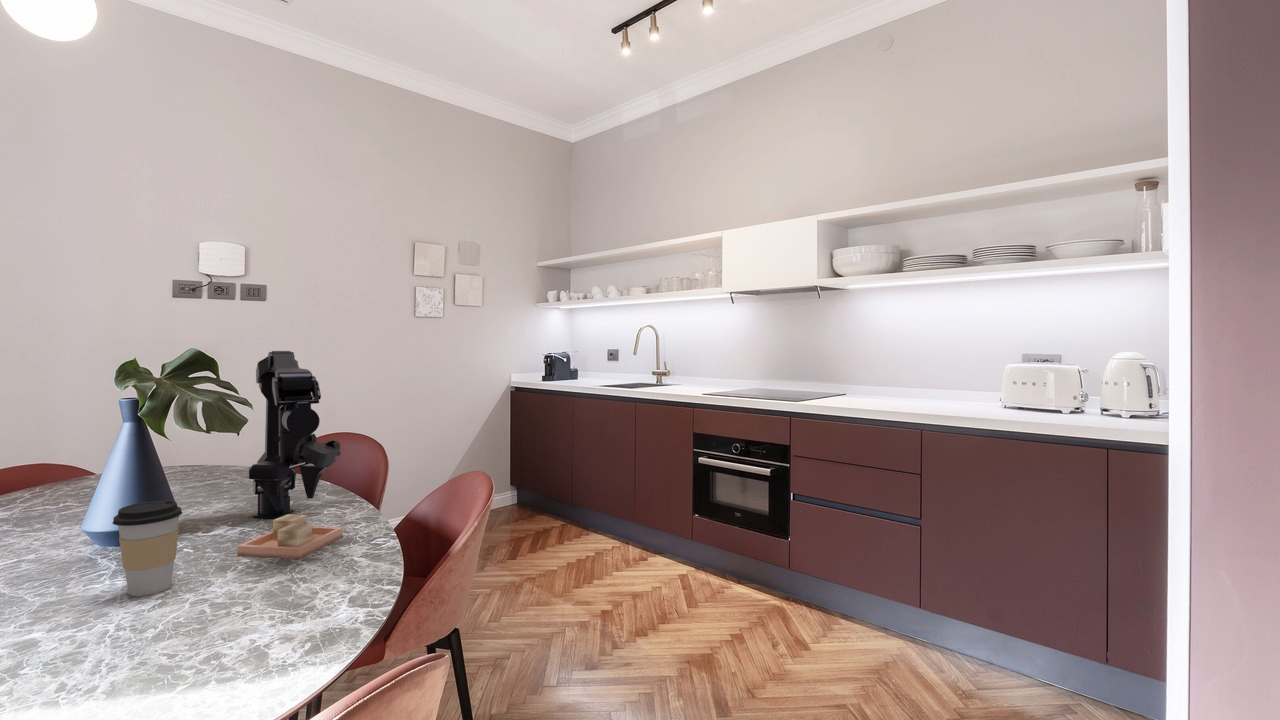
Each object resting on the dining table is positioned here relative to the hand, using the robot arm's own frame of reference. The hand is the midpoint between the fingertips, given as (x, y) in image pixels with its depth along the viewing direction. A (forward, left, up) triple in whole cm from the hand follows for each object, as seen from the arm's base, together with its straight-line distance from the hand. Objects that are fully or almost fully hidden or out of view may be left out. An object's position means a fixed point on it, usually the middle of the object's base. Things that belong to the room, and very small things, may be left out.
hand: (295, 503), depth 121 cm
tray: (-3, +3, -10) cm, 11 cm away
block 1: (-6, +6, -10) cm, 13 cm away
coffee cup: (-12, -21, -10) cm, 26 cm away
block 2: (0, 0, -10) cm, 10 cm away
